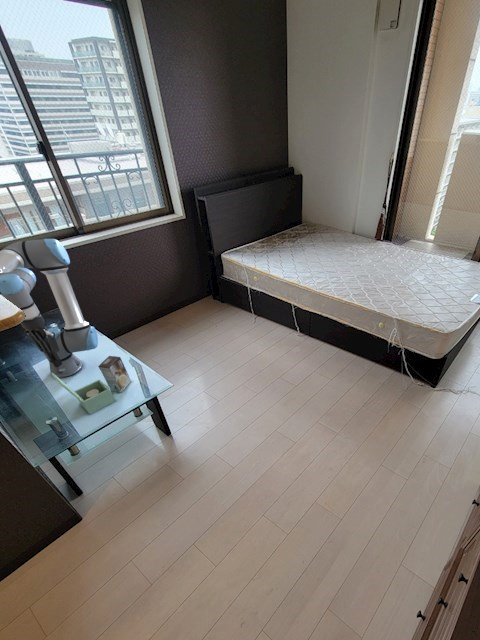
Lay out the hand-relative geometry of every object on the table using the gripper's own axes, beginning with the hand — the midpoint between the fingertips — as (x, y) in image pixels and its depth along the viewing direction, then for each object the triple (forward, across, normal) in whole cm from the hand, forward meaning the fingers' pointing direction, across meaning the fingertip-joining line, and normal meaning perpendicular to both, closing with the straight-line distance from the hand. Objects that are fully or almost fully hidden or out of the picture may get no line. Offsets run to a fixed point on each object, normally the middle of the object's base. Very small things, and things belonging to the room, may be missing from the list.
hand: (58, 365), depth 147 cm
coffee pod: (+26, +3, +6) cm, 26 cm away
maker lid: (+12, -1, -1) cm, 12 cm away
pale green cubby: (+26, +3, +6) cm, 27 cm away
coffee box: (+27, +6, +19) cm, 33 cm away
